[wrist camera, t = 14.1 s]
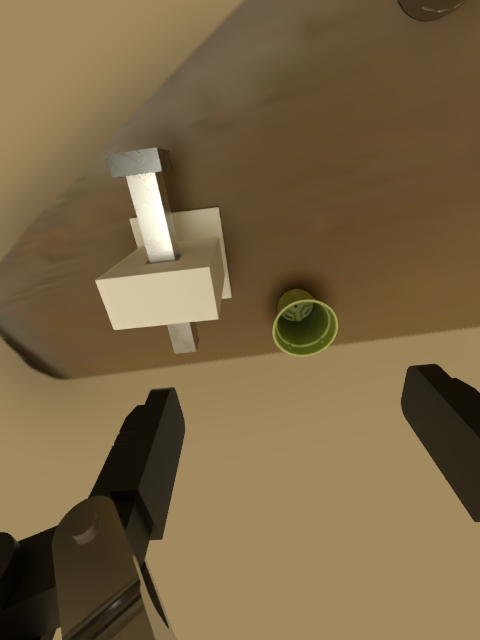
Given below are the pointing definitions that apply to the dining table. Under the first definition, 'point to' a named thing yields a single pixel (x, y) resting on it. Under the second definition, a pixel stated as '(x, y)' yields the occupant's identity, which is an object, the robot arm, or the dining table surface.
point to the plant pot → (303, 324)
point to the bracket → (170, 277)
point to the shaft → (154, 219)
